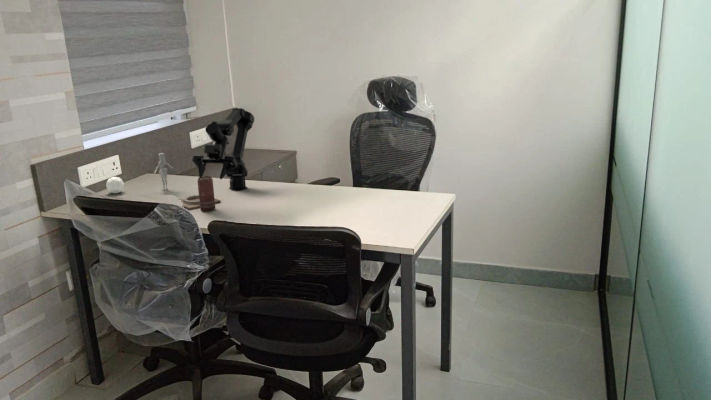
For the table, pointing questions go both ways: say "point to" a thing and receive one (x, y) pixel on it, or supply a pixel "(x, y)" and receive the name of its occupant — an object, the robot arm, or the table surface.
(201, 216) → the table surface
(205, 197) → the can
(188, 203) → the cup holder
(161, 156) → the human figurine
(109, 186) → the geometric ball
